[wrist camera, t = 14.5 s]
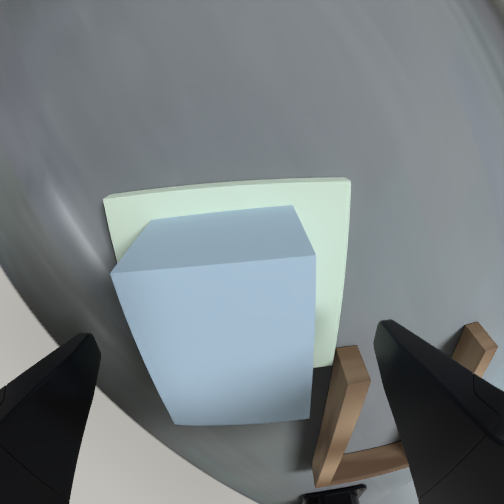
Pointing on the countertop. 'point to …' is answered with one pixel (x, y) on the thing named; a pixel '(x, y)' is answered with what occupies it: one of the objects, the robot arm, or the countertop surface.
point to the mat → (247, 197)
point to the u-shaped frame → (350, 404)
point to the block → (224, 314)
